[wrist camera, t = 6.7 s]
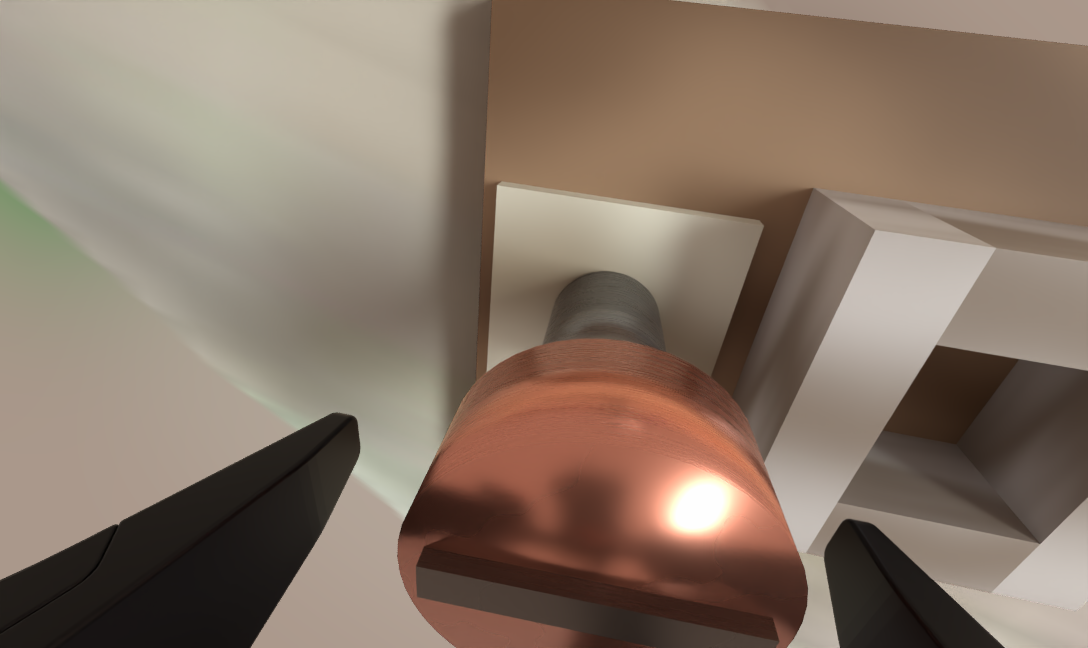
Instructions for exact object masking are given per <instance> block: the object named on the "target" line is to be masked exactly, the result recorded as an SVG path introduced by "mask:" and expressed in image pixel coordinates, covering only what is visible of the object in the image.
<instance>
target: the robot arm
mask: <svg viewBox="0 0 1088 648" xmlns="http://www.w3.org/2000/svg"><path fill="white" fill-rule="evenodd" d="M359 454H360V439H359V431H358V423H357V419H356V418H355V417H354V416H352V415H347V414H342V413H332V414H329V415H328V416H326V417H324V418H322V419H320V420H318V421H316V422H314V423H312V424H310V425H308V426H306V427H304V428H302V429H300V430H298V431H296V432H294V433H292V434H291V435H288V436H287V437H285V438H283V439H281V440H279V441H277V442H275V443H273V444H271V445H269V446H267V447H265V448H263V449H261V450H259V451H257V452H255V453H253V454H251V455H249V456H247V457H245V458H243V459H242V460H240V461H238V462H236V463H234V464H232V465H230V466H228V467H226V468H224V469H222V470H220V471H218V472H216V473H214V474H212V475H210V476H208V477H206V478H205V479H202V480H201V481H199V482H197V483H195V484H193V485H191V486H189V487H187V488H185V489H183V490H181V491H179V492H177V493H175V494H173V495H172V496H169V497H167V498H165V499H163V500H161V501H160V502H158V503H156V504H154V505H152V506H150V507H148V508H146V509H144V510H142V511H140V512H138V513H136V514H134V515H132V516H130V517H128V518H126V519H124V520H123V521H121V522H120V524H119V525H117V524H115V525H112V526H110V527H108V528H106V529H104V530H102V531H101V532H99V533H97V534H95V535H93V536H91V537H89V538H87V539H85V540H83V541H81V542H79V543H77V544H75V545H73V546H71V547H69V548H67V549H65V550H63V551H61V552H59V553H57V554H54V555H53V556H50V557H49V558H46V559H44V560H42V561H40V562H38V563H36V564H34V565H32V566H30V567H28V568H25V569H23V570H21V571H19V572H17V573H14V574H12V575H10V576H8V577H6V578H4V579H2V580H0V648H251V646H252V644H253V643H254V641H255V639H256V638H257V636H258V635H259V633H260V632H261V630H262V628H263V627H264V624H265V623H266V622H267V620H268V619H269V617H270V615H271V614H272V612H273V611H274V609H275V607H276V606H277V604H278V602H279V601H280V599H281V598H282V596H283V595H284V593H285V591H286V590H287V588H288V586H289V585H290V583H291V582H292V580H293V578H294V577H295V575H296V574H297V572H298V570H299V569H300V567H301V566H302V564H303V562H304V561H305V559H306V557H307V556H308V554H309V553H310V551H311V550H312V548H313V546H314V545H315V543H316V541H317V540H318V538H319V536H320V535H321V533H322V531H323V529H324V527H325V525H326V523H327V521H328V519H329V517H330V515H331V513H332V511H333V509H334V507H335V505H336V503H337V501H338V499H339V497H340V495H341V493H342V490H343V489H344V487H345V485H346V482H347V480H348V478H349V476H350V474H351V472H352V470H353V468H354V466H355V464H356V462H357V460H358V457H359ZM824 562H825V568H826V573H827V579H828V585H829V590H830V596H831V601H832V607H833V613H834V618H835V624H836V629H837V635H838V640H839V645H840V648H1005V647H1003V646H1002V645H1001V644H1000V643H999V642H998V641H997V640H996V639H995V638H994V637H993V636H992V635H991V634H990V633H989V632H988V631H987V630H985V629H984V628H983V627H982V626H981V625H980V624H979V623H978V622H977V621H976V620H975V619H974V618H973V617H972V616H971V615H970V614H969V613H967V612H966V611H965V610H964V609H963V608H962V607H961V606H960V605H959V604H958V603H957V602H956V601H955V600H954V599H953V598H952V597H951V596H949V595H948V594H947V593H946V592H945V591H944V590H943V589H942V588H941V587H940V586H939V585H938V584H937V583H936V582H935V581H934V580H933V579H931V578H930V577H929V576H928V575H927V574H926V573H925V572H924V571H923V570H922V569H921V568H920V567H919V566H918V565H917V564H916V563H915V562H913V561H912V560H911V559H910V558H909V557H908V556H907V555H906V554H905V553H904V552H903V551H902V550H901V549H900V548H899V547H898V546H897V545H895V544H894V543H893V542H892V541H891V540H890V539H889V538H888V537H887V536H886V535H885V534H884V533H883V532H882V531H881V530H880V529H879V528H877V527H876V526H875V525H873V524H872V523H869V522H865V521H860V520H855V519H845V520H843V521H842V522H841V524H840V525H839V527H838V528H837V530H836V531H835V533H834V534H833V536H832V538H831V539H830V541H829V542H828V544H827V545H826V548H825V551H824Z"/></svg>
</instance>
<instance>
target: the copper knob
mask: <svg viewBox="0 0 1088 648" xmlns="http://www.w3.org/2000/svg"><path fill="white" fill-rule="evenodd" d="M397 557H398V564H399V570H400V574H401V577H402V580H403V583H404V586H405V588H406V590H407V592H408V594H409V596H410V598H411V599H412V602H413V603H414V605H415V606H416V607H417V609H418V610H419V612H420V613H421V614H422V616H423V617H424V618H425V619H426V620H427V622H428V623H429V624H430V625H431V626H432V627H433V628H434V629H435V630H436V631H437V632H438V633H439V634H440V635H441V636H443V637H444V638H445V639H446V640H447V641H448V642H449V643H451V644H452V645H454V646H455V647H456V648H787V646H788V645H789V644H790V643H791V641H792V640H793V639H794V637H795V635H796V634H797V632H798V630H799V628H800V626H801V624H802V622H803V618H804V615H805V611H806V608H807V595H808V586H807V580H806V575H805V569H804V566H803V564H802V561H801V559H800V556H799V553H798V551H797V548H796V545H795V543H794V540H793V537H792V535H791V532H790V530H789V527H788V524H787V522H786V519H785V516H784V514H783V511H782V508H781V506H780V503H779V500H778V498H777V495H776V493H775V490H774V487H773V485H772V482H771V479H770V477H769V474H768V471H767V469H766V466H765V464H764V461H763V458H762V456H761V453H760V450H759V448H758V445H757V442H756V440H755V437H754V435H753V432H752V430H751V427H750V425H749V422H748V420H747V418H746V417H745V415H744V413H743V412H742V410H741V409H740V407H739V405H738V404H737V403H736V402H735V400H734V399H733V398H732V397H731V396H730V395H729V393H728V392H727V391H726V390H725V389H724V388H723V387H722V386H721V385H719V384H718V383H717V382H716V381H715V380H714V379H713V378H711V377H710V376H709V375H707V374H706V373H704V372H703V371H701V370H700V369H698V368H697V367H695V366H694V365H692V364H690V363H688V362H686V361H684V360H682V359H680V358H678V357H676V356H674V355H672V354H670V353H667V352H666V347H665V342H664V336H663V330H662V325H661V319H660V313H659V309H658V305H657V303H656V301H655V299H654V297H653V296H652V294H651V293H650V291H649V290H648V289H647V288H646V287H645V286H644V285H643V284H642V283H640V282H639V281H637V280H636V279H634V278H632V277H630V276H627V275H625V274H622V273H617V272H610V271H599V272H593V273H589V274H585V275H583V276H581V277H578V278H577V279H575V280H573V281H572V282H570V283H569V284H568V285H567V286H566V287H565V288H564V289H563V290H562V291H561V292H560V294H559V295H558V297H557V299H556V301H555V303H554V306H553V309H552V313H551V316H550V320H549V323H548V327H547V330H546V334H545V337H544V341H543V344H542V345H540V346H536V347H533V348H530V349H528V350H525V351H522V352H520V353H517V354H515V355H513V356H511V357H510V358H508V359H506V360H504V361H502V362H500V363H499V364H497V365H496V366H495V367H493V368H492V369H490V370H489V371H488V372H486V373H485V374H484V375H483V376H482V377H481V378H480V379H479V380H478V381H477V382H476V383H475V384H474V385H473V386H472V387H471V389H470V390H469V391H468V393H467V394H466V396H465V397H464V398H463V400H462V402H461V404H460V406H459V408H458V410H457V412H456V414H455V416H454V418H453V420H452V422H451V424H450V426H449V429H448V431H447V433H446V435H445V437H444V439H443V441H442V443H441V445H440V447H439V449H438V451H437V453H436V455H435V457H434V460H433V462H432V464H431V466H430V468H429V470H428V472H427V474H426V476H425V478H424V480H423V482H422V484H421V486H420V489H419V491H418V493H417V495H416V497H415V499H414V501H413V503H412V505H411V507H410V509H409V511H408V513H407V515H406V517H405V520H404V522H403V524H402V527H401V531H400V535H399V539H398V555H397Z"/></svg>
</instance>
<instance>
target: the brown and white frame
mask: <svg viewBox="0 0 1088 648" xmlns="http://www.w3.org/2000/svg"><path fill="white" fill-rule="evenodd" d="M599 271H610V272H617V273H622V274H625V275H627V276H630V277H632V278H634V279H636V280H637V281H639V282H640V283H642V284H643V285H644V286H645V287H646V288H647V289H648V290H649V291H650V293H651V294H652V296H653V297H654V299H655V301H656V303H657V305H658V309H659V313H660V319H661V325H662V330H663V336H664V342H665V347H666V352H667V353H670V354H672V355H674V356H676V357H678V358H680V359H682V360H684V361H686V362H688V363H690V364H692V365H694V366H695V367H697V368H698V369H700V370H701V371H703V372H704V373H706V374H707V375H709V376H710V377H711V378H713V379H714V380H715V381H716V382H717V383H718V384H719V385H721V386H722V387H723V388H724V389H725V390H726V391H727V392H728V393H729V395H730V396H731V397H732V398H733V399H734V400H735V402H736V403H737V404H738V405H739V407H740V409H741V410H742V412H743V413H744V415H745V417H746V418H747V420H748V422H749V425H750V427H751V430H752V432H753V435H754V437H755V440H756V442H757V445H758V448H759V450H760V453H761V456H762V458H763V461H764V464H765V466H766V469H767V471H768V474H769V477H770V479H771V482H772V485H773V487H774V490H775V493H776V495H777V498H778V500H779V503H780V506H781V508H782V511H783V514H784V516H785V519H786V522H787V524H788V527H789V530H790V532H791V535H792V537H793V540H794V543H795V545H796V548H797V551H798V552H803V553H807V554H812V555H816V556H821V557H824V551H825V548H826V545H827V544H828V542H829V541H830V539H831V538H832V536H833V534H834V533H835V531H836V530H837V528H838V527H839V525H840V524H841V522H842V521H843V520H845V519H855V520H860V521H865V522H869V523H872V524H873V525H875V526H876V527H877V528H879V529H880V530H881V531H882V532H883V533H884V534H885V535H886V536H887V537H888V538H889V539H890V540H891V541H892V542H893V543H894V544H895V545H897V546H898V547H899V548H900V549H901V550H902V551H903V552H904V553H905V554H906V555H907V556H908V557H909V558H910V559H911V560H912V561H913V562H915V563H916V564H917V565H918V566H919V567H920V568H921V569H922V570H923V571H924V572H925V573H926V574H927V575H928V576H929V577H930V578H931V579H933V580H934V581H937V582H942V583H946V584H951V585H956V586H960V587H965V588H969V589H974V590H979V591H983V592H988V593H993V594H997V595H1002V596H1007V597H1011V598H1016V599H1020V600H1025V601H1030V602H1034V603H1039V604H1044V605H1048V606H1053V607H1058V608H1062V609H1067V610H1071V611H1077V610H1078V609H1080V608H1081V607H1082V606H1083V605H1084V604H1086V603H1087V602H1088V46H1083V45H1074V44H1066V43H1057V42H1047V41H1038V40H1029V39H1020V38H1011V37H1001V36H993V35H983V34H974V33H964V32H956V31H947V30H938V29H929V28H919V27H910V26H901V25H891V24H883V23H874V22H864V21H855V20H846V19H837V18H828V17H819V16H810V15H801V14H792V13H782V12H773V11H764V10H755V9H746V8H737V7H728V6H718V5H709V4H700V3H691V2H682V1H673V0H492V8H491V32H490V55H489V79H488V103H487V126H486V150H485V174H484V197H483V221H482V245H481V268H480V292H479V315H478V339H477V363H476V382H477V381H478V380H479V379H480V378H481V377H482V376H483V375H484V374H485V373H486V372H488V371H489V370H490V369H492V368H493V367H495V366H496V365H497V364H499V363H500V362H502V361H504V360H506V359H508V358H510V357H511V356H513V355H515V354H517V353H520V352H522V351H525V350H528V349H530V348H533V347H536V346H540V345H542V344H543V341H544V337H545V334H546V330H547V327H548V323H549V320H550V316H551V313H552V309H553V306H554V303H555V301H556V299H557V297H558V295H559V294H560V292H561V291H562V290H563V289H564V288H565V287H566V286H567V285H568V284H569V283H570V282H572V281H573V280H575V279H577V278H578V277H581V276H583V275H585V274H589V273H593V272H599Z"/></svg>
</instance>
